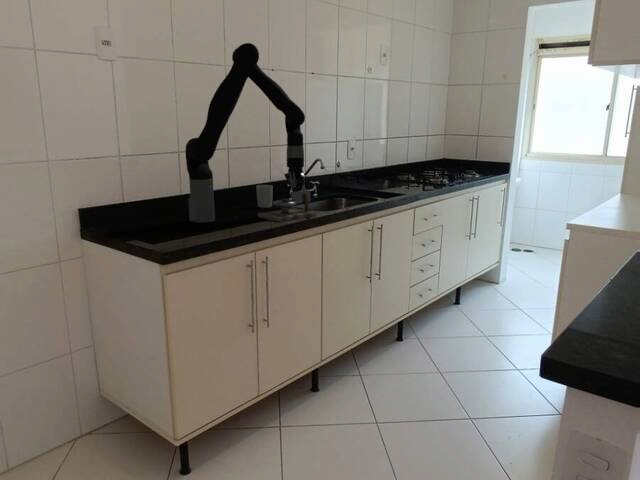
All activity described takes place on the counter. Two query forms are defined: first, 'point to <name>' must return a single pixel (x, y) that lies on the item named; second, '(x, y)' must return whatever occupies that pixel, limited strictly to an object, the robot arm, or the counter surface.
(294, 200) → the flange
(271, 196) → the white cup
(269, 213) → the flange base
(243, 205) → the counter surface
